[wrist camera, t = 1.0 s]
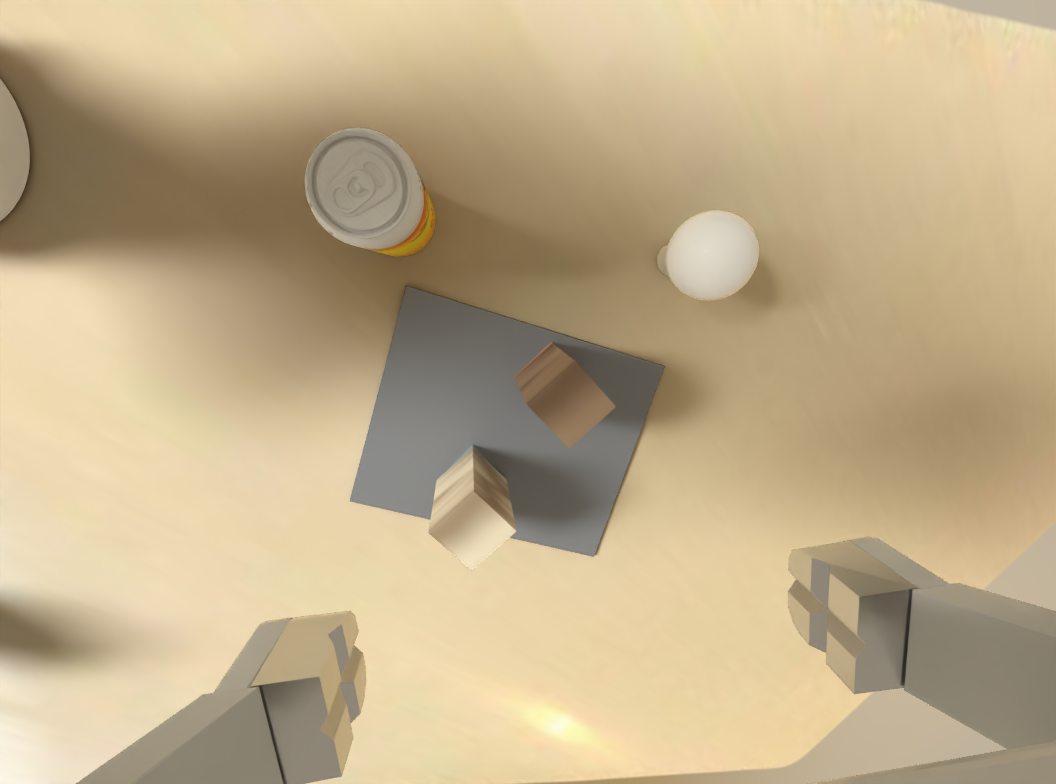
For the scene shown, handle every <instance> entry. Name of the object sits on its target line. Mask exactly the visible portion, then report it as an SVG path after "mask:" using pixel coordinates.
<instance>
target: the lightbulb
mask: <svg viewBox="0 0 1056 784" xmlns="http://www.w3.org/2000/svg"><path fill="white" fill-rule="evenodd" d="M758 259H759V244H758V239H757V236H756V234H755V232H754V230H753V229H752V227H751V226H750V225H749V223H748V222H747V221H746V220H744V219H743V218H742V217H740V216H738V215H736V214H734V213H731V212H728V211H723V210H711V211H705V212H702V213H699V214H696V215H694V216H692V217H691V218H689V219H688V220H686V221H685V222H684V223H683V224H681V225H680V226H679V227H678V229H677V230H676V231H675V233H674V234H673V236H672V237H671V239H670V242H669V244H668V245H666V246H664V247H663V248H662V249H661V250H660V251H659V253H658V256H657V265H658V268H659V270H660V271H661V272H662V273H664V274H665V275H669V277H670V279H671V281H672V282H673V284H674V285H675V286H676V288H677V289H678V290H680V291H681V292H682V293H684V294H685V295H687V296H689V297H691V298H694V299H697V300H703V301H713V300H719V299H723V298H726V297H728V296H730V295H732V294H734V293H736V292H737V291H739V290H740V289H741V288H742V287H743V286H744V285H745V284H746V283H747V282H748V281H749V280H750V278H751V277H752V275H753V273H754V271H755V269H756V266H757V263H758Z"/></svg>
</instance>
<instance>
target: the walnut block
mask: <svg viewBox="0 0 1056 784" xmlns="http://www.w3.org/2000/svg"><path fill="white" fill-rule="evenodd" d="M514 378H515V380H516V382H517V384H518V386H519V388H520V391H521V393H522V395H523V397H524V399H525V401H526V404H527V405H528V407H529V408H530V409H531V410H532V411H533V412H534V413H535V414H536V415H537V416H538V417H539V418H540V419H541V420H542V421H543V422H544V423H545V424H546V425H547V426H548V427H549V428H550V429H551V430H552V431H553V433H554V434H555V435H556V436H557V437H558V438H559V439H560V440H561V441H562V442H563V443H564V444H565V445H566V446H567V447H568V448H569V449H570V448H571V447H572V446H573V445H574V444H575V443H577V442H578V441H579V440H580V439H581V438H582V437H583V436H584V435H585V434H586V433H588V432H589V431H590V430H591V429H592V428H593V427H594V426H595V425H596V424H598V423H599V422H600V421H601V420H602V419H603V418H604V417H605V416H606V415H608V414H609V413H610V412H611V411H612V410H613V409H614V408H615V407H616V406H615V405H614V404H613V402H612V401H611V400H610V399H609V398H608V397H607V396H606V395H605V393H604V392H603V391H602V390H601V389H600V388H599V387H598V386H597V385H596V383H595V382H594V381H593V380H592V379H591V378H590V377H589V376H588V375H587V373H586V372H585V371H584V370H583V369H582V368H581V367H580V366H579V365H578V363H577V362H576V361H575V360H573V359H572V358H571V357H570V356H568V355H567V354H566V353H564V352H563V351H562V350H561V349H559V348H558V347H557V346H555V345H554V344H553V343H552V342H551V343H550V344H549V345H548V346H546V347H545V348H544V349H543V350H542V351H541V352H540V353H539V354H538V355H537V356H536V357H535V358H534V359H532V360H531V361H530V362H529V363H528V364H527V365H526V366H525V367H524V368H523V369H522V370H521V371H519V372H518V373H517V374H516V375H515V376H514Z"/></svg>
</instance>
